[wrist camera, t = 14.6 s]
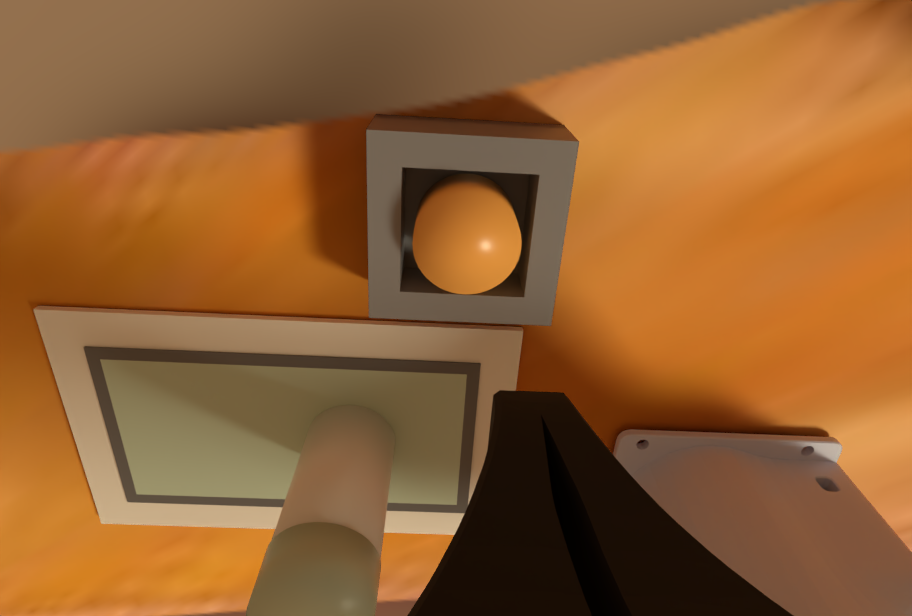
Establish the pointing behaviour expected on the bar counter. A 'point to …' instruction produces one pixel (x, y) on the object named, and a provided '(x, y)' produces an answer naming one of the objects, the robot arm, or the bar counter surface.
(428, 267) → the button
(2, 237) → the bar counter surface
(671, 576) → the robot arm
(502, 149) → the button housing
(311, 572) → the cylinder
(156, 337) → the picture sheet
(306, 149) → the bar counter surface
